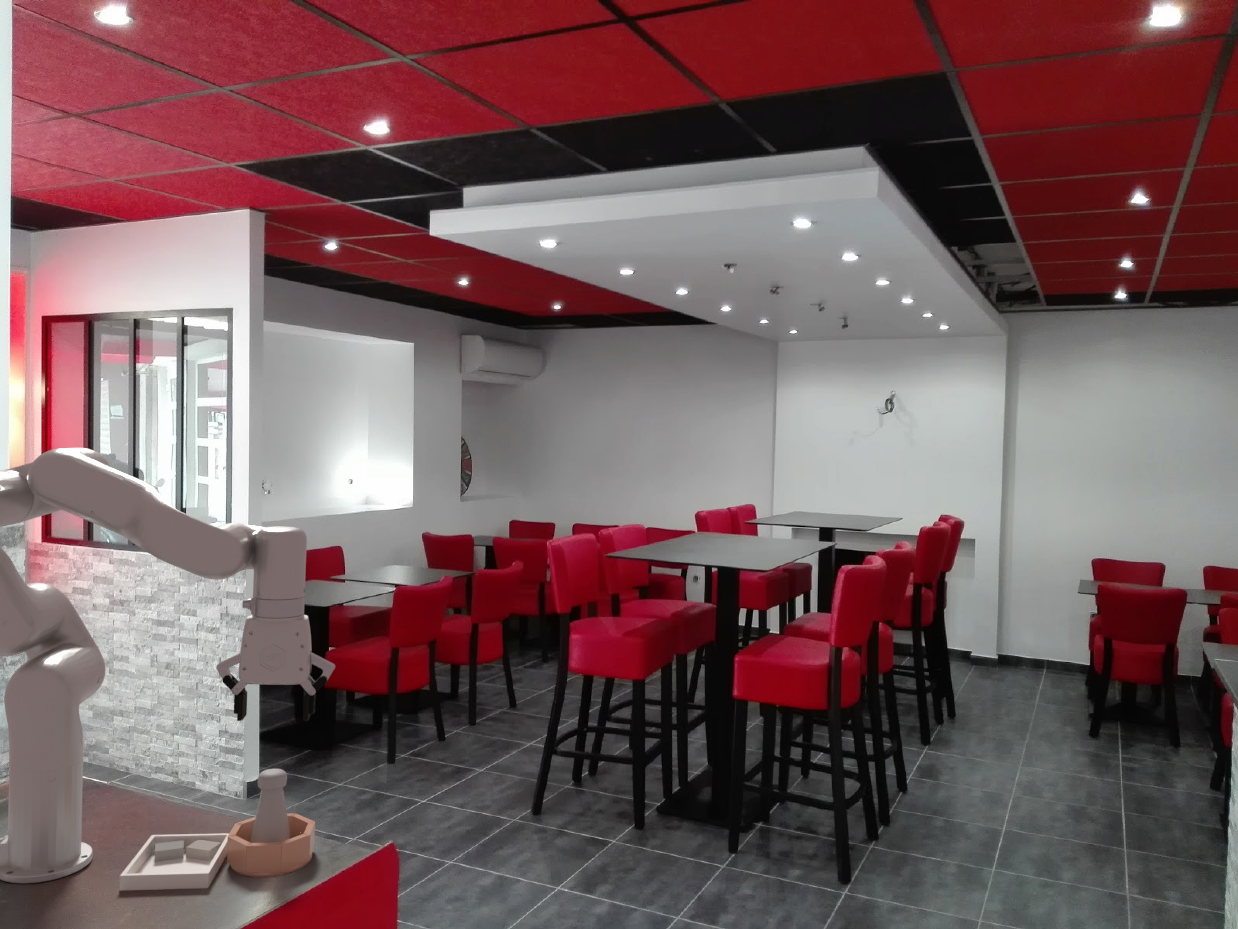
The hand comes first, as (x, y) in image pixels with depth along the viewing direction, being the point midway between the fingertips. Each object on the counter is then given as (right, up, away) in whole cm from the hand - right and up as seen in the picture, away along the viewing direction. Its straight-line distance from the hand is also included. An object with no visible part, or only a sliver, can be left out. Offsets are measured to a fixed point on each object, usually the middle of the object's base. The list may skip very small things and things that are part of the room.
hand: (274, 718), depth 150 cm
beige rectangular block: (-11, -21, +1) cm, 24 cm away
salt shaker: (-1, -21, +1) cm, 21 cm away
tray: (-13, -22, -3) cm, 26 cm away
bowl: (-1, -22, +1) cm, 22 cm away
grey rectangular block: (-16, -21, 0) cm, 27 cm away
